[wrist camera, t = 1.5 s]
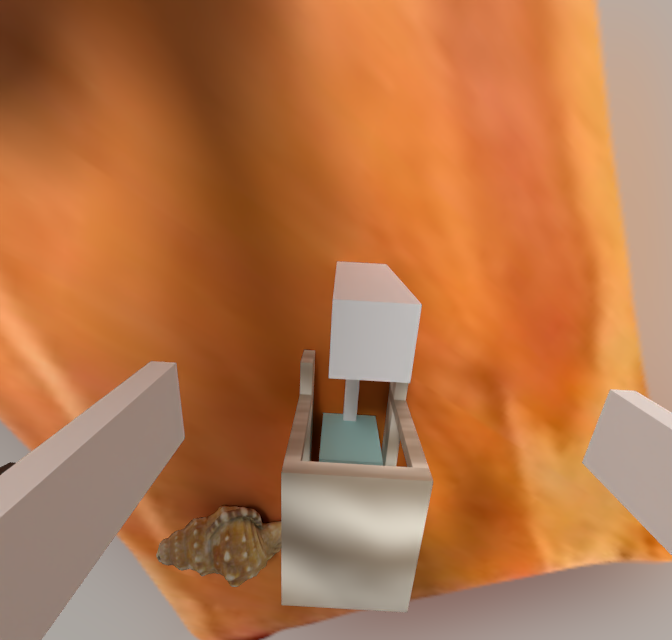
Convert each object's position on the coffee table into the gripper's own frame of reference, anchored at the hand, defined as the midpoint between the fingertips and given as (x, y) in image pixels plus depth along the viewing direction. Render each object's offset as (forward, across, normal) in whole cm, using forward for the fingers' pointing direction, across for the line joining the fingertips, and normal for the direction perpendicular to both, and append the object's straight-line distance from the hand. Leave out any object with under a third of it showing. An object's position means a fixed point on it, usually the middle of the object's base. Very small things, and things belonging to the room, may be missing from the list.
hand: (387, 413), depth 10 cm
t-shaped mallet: (+17, 0, -8) cm, 19 cm away
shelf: (+17, 0, -13) cm, 22 cm away
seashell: (+18, -12, -27) cm, 34 cm away
